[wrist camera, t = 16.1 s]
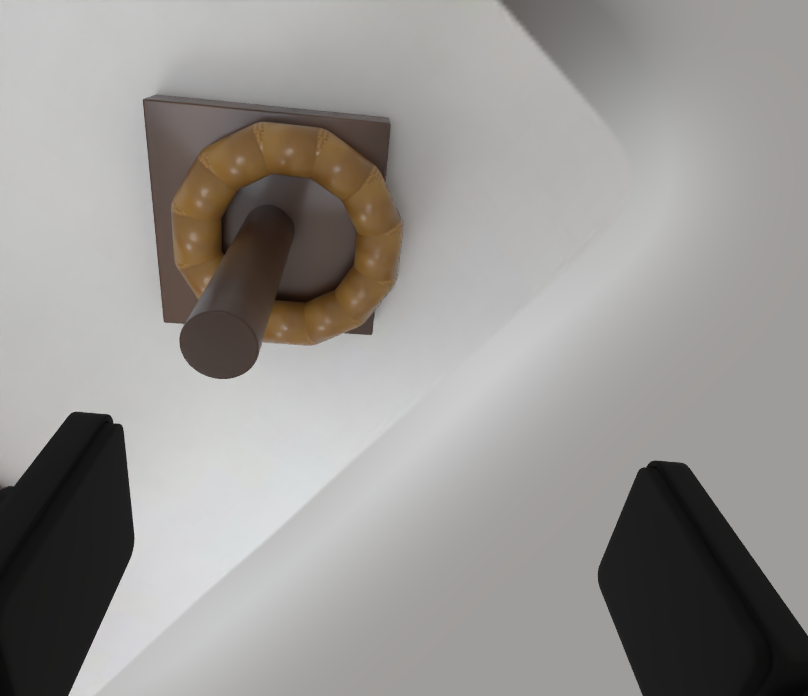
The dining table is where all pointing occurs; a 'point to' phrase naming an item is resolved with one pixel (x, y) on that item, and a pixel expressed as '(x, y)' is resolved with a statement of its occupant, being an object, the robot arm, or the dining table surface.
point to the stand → (251, 228)
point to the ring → (299, 157)
